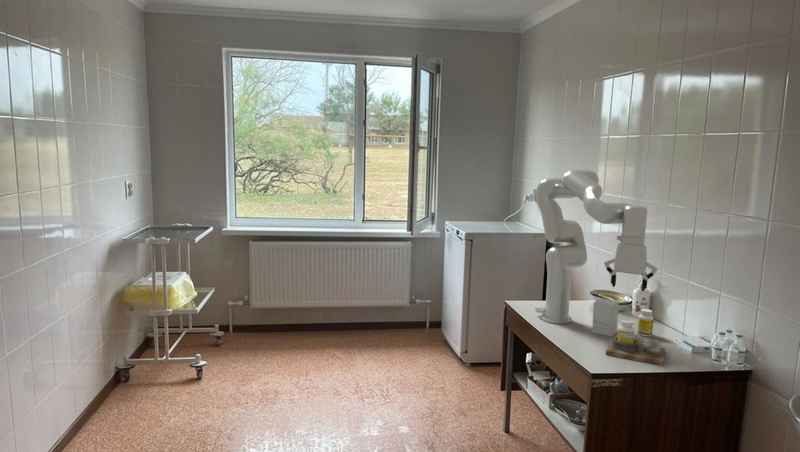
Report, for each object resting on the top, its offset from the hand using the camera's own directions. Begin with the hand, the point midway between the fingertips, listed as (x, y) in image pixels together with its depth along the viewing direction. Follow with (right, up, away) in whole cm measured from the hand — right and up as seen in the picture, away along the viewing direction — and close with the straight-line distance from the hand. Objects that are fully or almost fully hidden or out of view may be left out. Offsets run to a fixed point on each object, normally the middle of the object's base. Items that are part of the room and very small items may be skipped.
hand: (628, 288), depth 187 cm
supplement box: (0, -20, +21) cm, 29 cm away
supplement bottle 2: (+15, -21, +19) cm, 32 cm away
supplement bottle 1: (-1, -21, +1) cm, 21 cm away
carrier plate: (+2, -23, -1) cm, 23 cm away
